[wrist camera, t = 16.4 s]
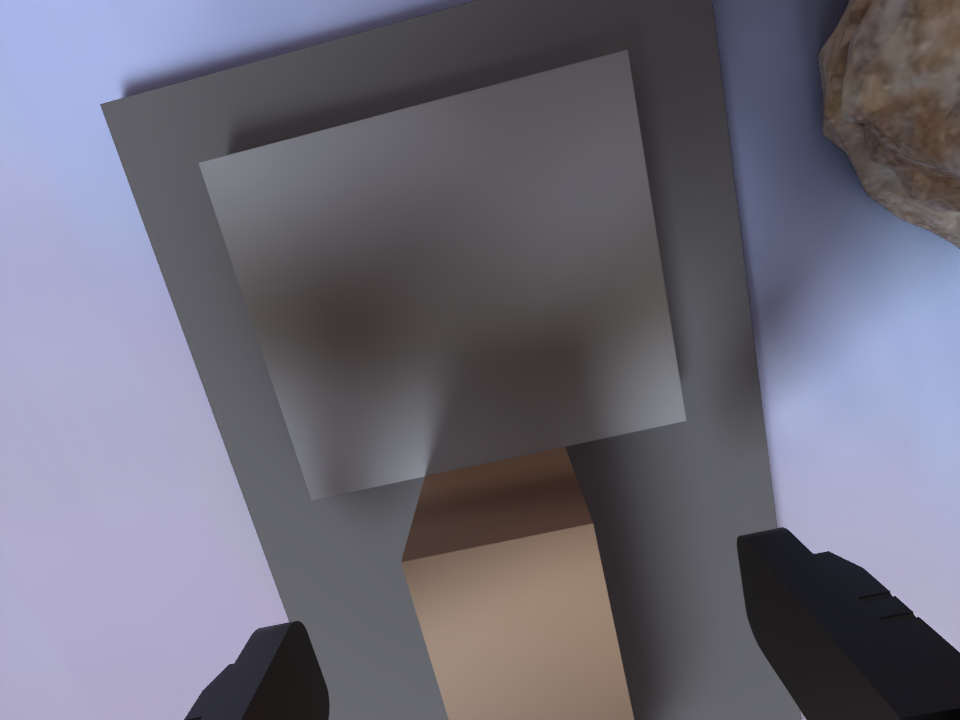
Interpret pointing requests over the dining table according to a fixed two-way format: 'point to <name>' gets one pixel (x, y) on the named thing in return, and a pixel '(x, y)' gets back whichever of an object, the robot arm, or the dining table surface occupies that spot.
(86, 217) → the dining table surface
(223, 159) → the turner
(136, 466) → the dining table surface
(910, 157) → the clay tablet
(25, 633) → the dining table surface
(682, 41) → the mat
